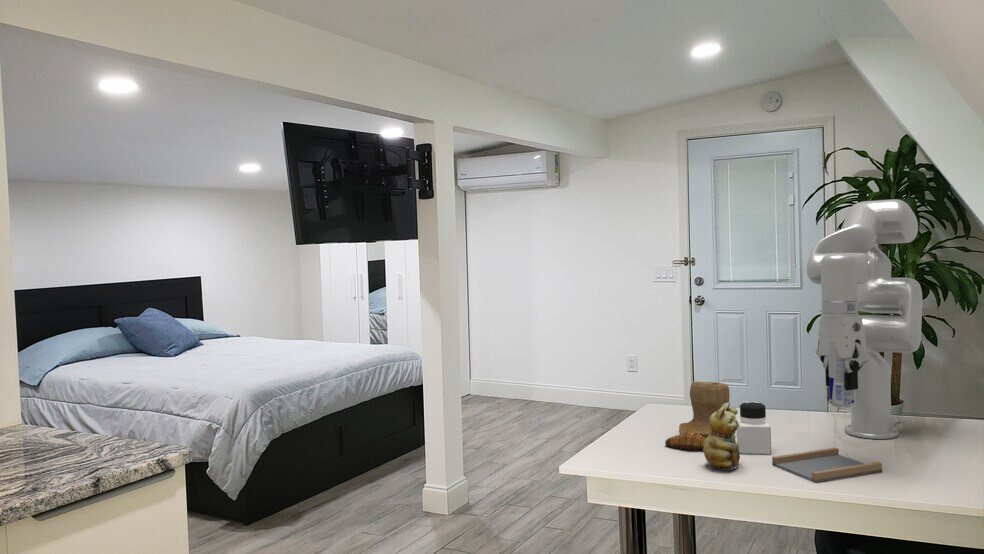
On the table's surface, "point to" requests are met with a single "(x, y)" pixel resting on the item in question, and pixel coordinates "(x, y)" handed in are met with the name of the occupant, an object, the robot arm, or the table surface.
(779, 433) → the table surface
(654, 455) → the table surface
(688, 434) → the croissant
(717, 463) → the decorative figurine
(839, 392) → the beverage can
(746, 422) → the medicine bottle
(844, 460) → the rail mat
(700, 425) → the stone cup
